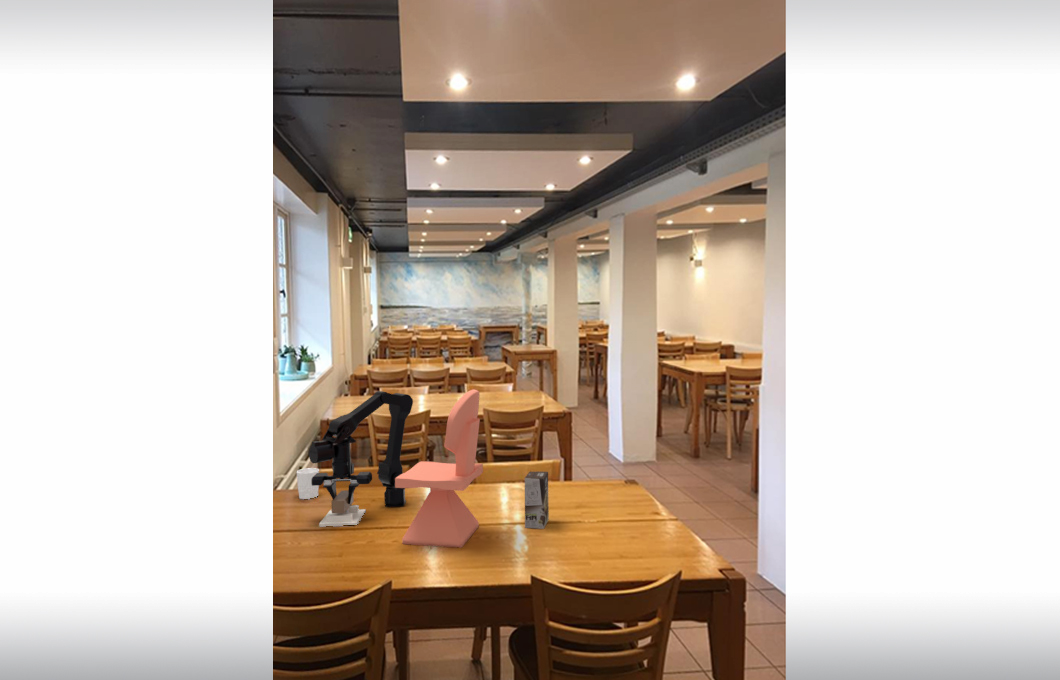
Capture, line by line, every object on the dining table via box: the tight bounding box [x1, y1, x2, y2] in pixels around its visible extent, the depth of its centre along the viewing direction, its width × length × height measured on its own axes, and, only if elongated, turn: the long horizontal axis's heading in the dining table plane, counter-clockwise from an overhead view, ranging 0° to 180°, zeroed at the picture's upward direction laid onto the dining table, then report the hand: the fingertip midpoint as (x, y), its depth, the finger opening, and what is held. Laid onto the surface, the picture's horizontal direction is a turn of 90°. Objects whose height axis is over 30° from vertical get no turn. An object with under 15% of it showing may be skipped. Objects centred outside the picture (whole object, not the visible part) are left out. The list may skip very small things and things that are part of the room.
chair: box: [395, 388, 484, 549], centre depth 202 cm, size 27×22×45 cm
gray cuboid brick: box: [331, 489, 354, 513], centre depth 219 cm, size 12×4×4 cm, turn 1°
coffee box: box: [524, 471, 550, 530], centre depth 212 cm, size 9×6×16 cm
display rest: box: [318, 504, 366, 528], centre depth 219 cm, size 12×14×3 cm
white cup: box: [296, 467, 320, 500], centre depth 245 cm, size 8×8×10 cm
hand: (342, 504), depth 219 cm, fingers closed on gray cuboid brick, 4 cm apart
